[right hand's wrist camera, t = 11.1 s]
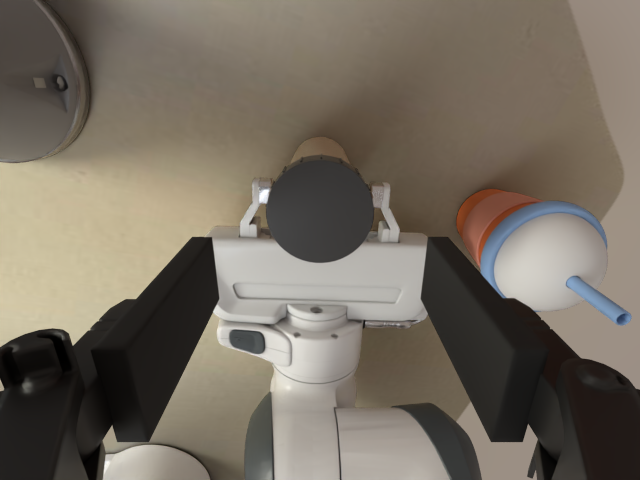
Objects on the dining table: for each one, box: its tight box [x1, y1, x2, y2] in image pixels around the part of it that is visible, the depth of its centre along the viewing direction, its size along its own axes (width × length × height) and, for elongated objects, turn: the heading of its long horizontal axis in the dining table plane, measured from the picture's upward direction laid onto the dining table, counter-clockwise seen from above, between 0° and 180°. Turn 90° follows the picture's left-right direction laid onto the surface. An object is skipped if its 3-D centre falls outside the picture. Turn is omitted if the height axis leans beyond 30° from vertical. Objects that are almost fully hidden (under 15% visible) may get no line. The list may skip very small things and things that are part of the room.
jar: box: [290, 137, 350, 164], centre depth 28 cm, size 5×5×15 cm
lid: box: [266, 154, 374, 263], centre depth 21 cm, size 6×6×2 cm
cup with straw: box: [457, 189, 631, 325], centre depth 28 cm, size 9×9×18 cm
